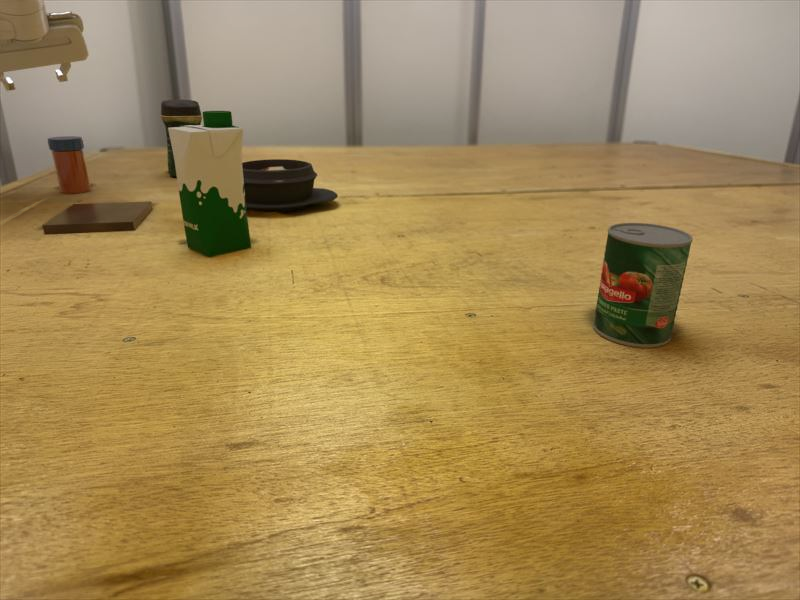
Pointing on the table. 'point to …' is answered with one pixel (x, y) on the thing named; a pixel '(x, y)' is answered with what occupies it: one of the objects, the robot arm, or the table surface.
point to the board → (98, 217)
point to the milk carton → (211, 184)
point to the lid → (65, 143)
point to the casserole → (281, 185)
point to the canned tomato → (641, 283)
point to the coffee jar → (178, 121)
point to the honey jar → (71, 171)
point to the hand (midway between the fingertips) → (36, 84)
